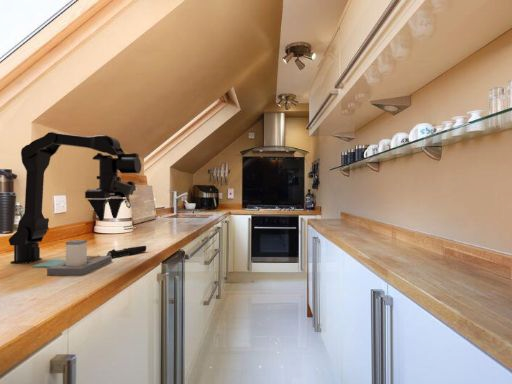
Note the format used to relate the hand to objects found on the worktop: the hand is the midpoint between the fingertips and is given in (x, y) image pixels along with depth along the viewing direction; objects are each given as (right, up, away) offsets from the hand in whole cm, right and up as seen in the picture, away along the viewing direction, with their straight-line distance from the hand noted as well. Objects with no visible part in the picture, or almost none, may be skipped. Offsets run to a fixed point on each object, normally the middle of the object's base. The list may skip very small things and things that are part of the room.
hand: (108, 219), depth 107 cm
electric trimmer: (+1, -15, +13) cm, 20 cm away
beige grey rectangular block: (-5, -15, -11) cm, 19 cm away
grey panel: (-5, -15, -8) cm, 17 cm away
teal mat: (-15, -15, -3) cm, 22 cm away
